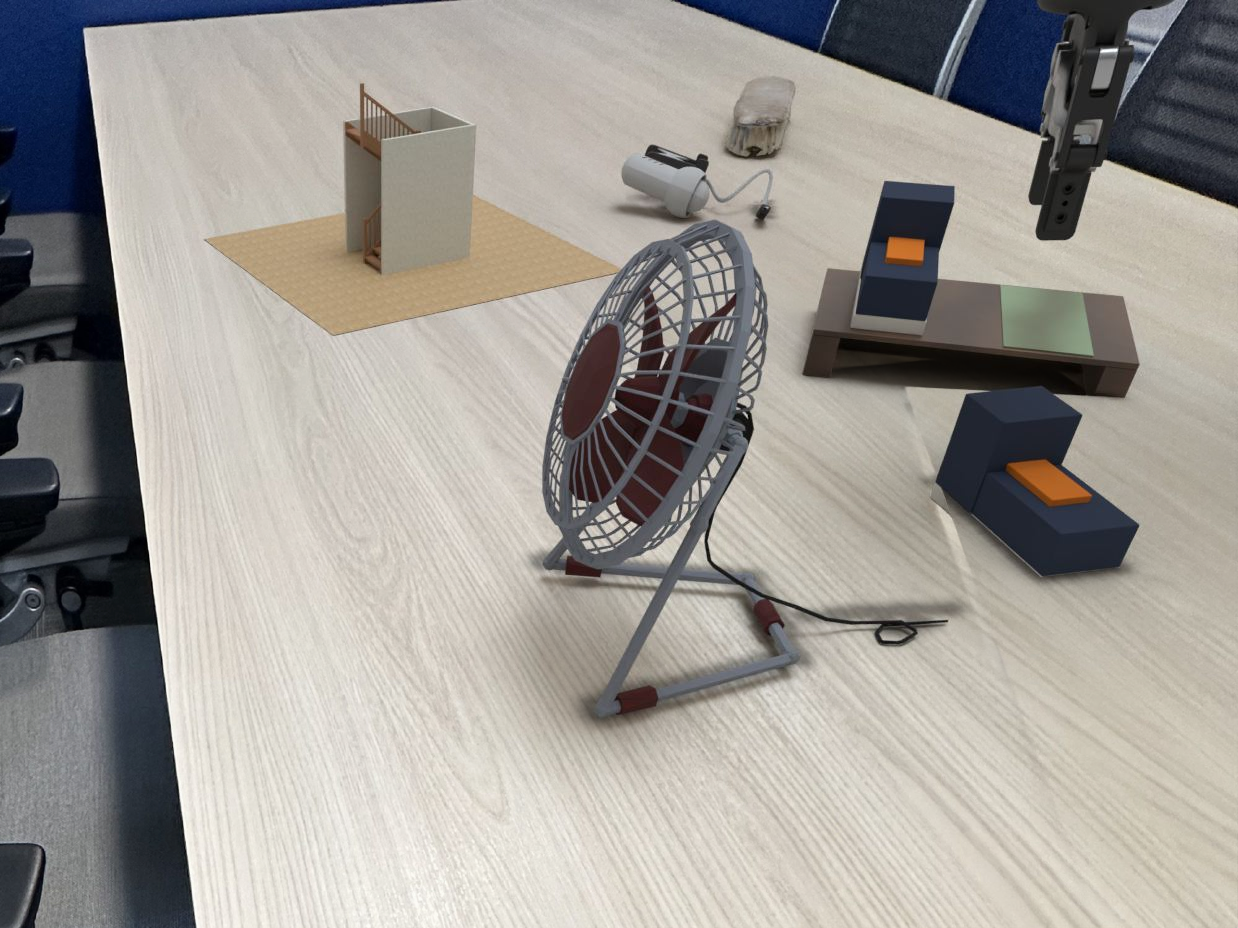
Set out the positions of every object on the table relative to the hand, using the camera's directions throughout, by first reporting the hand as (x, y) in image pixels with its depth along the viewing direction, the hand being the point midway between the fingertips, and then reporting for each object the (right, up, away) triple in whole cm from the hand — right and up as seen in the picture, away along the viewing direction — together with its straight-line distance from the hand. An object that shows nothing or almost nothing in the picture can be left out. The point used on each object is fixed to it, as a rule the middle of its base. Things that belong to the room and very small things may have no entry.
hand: (1048, 220), depth 79 cm
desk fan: (-20, -27, +1) cm, 34 cm away
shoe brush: (+10, +59, +84) cm, 103 cm away
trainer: (+3, -18, +9) cm, 21 cm away
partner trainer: (+3, +9, +31) cm, 32 cm away
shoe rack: (+10, +5, +32) cm, 34 cm away
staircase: (-39, +26, +54) cm, 72 cm away
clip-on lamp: (-5, +36, +63) cm, 73 cm away
